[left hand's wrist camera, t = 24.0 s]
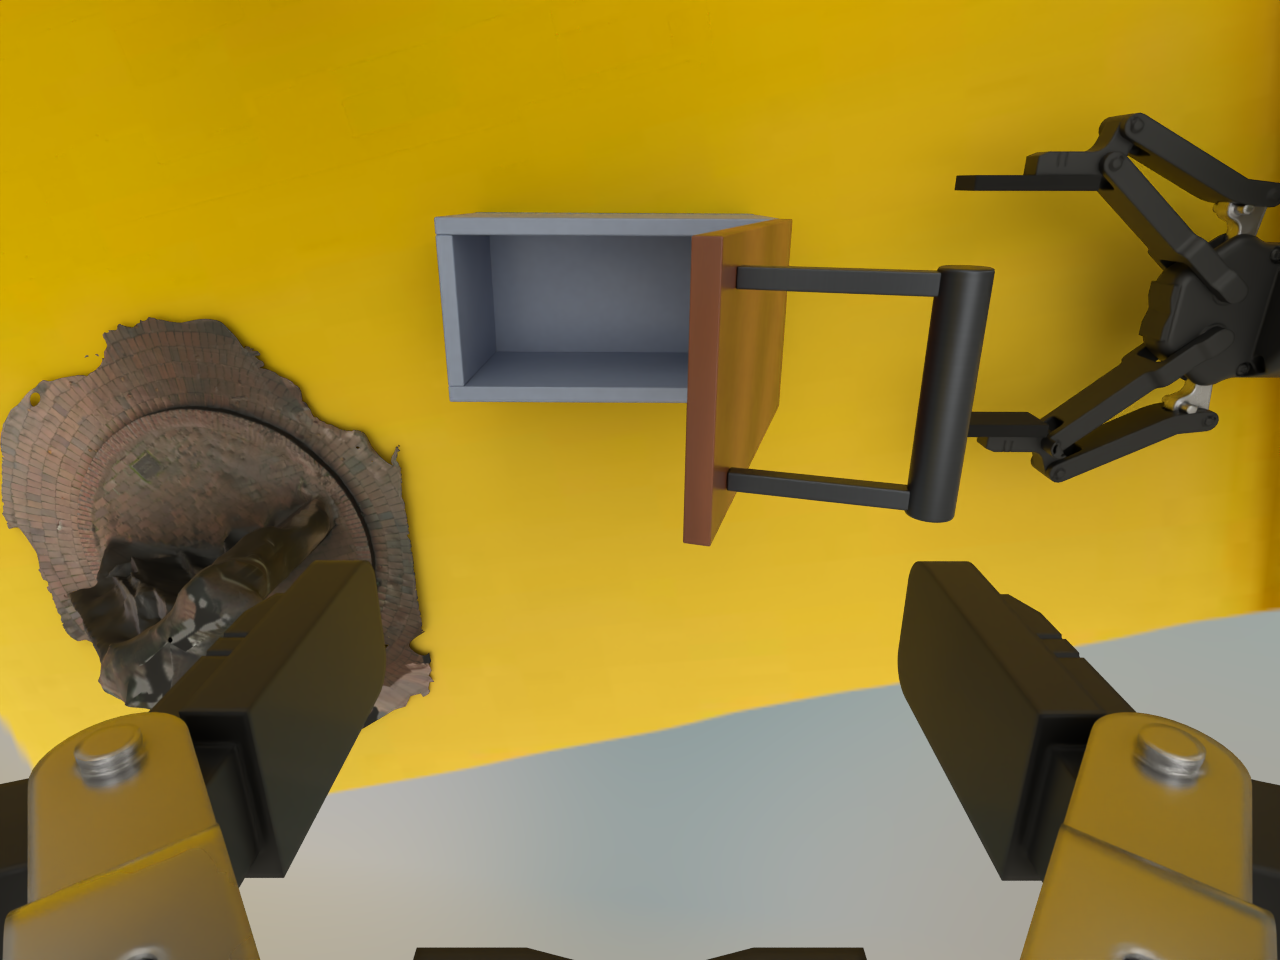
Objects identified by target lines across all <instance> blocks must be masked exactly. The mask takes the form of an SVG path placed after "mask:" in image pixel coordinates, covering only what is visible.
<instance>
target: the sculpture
mask: <svg viewBox="0 0 1280 960" xmlns="http://www.w3.org/2000/svg"><path fill="white" fill-rule="evenodd" d="M117 327H118V328H117V330H109V332H108V333H104V334H103V338H104V339H105V340H106V343H107V348H106V350H105V351H104V357H105V359H104V358H102V359H103V360H102V363H101V365H100V366H99V367H98V368H97V370H95V371H94V372H92V373H90V374H89V375H88V376H84V375H77V376H72V377H65V378H60V379H57V380H54V381H50V382H49V381H45V380H43V381H41V382H40V383H39V384H38V385H37V387H36V388H34V389H32V390H31V391H30V392H28V393H27V394H26V396H25V397H24V398H23V399H22V401H21V402H20V403H19V404H18V405H17V406H16V407H14V408H13V409H12V410H11V411H10V413H9V415H8V417H7V419H6V421H5V423H4V424H3V429H2V432H1V441H0V442H1V448H2V449H1V451H2V455H3V456H4V457H2V458H3V460H2V462H3V464H2V476H3V477H2V482H3V483H2V496H3V497H2V502H4V506H3V510H4V511H3V513H2V514H3V516H4V517H5V519H6V521H7V522H8V523H7V524H8V528H9V529H10V528H14V527H18V528H20V529H21V531H22V532H23V533H24V535H25V536H26V537H27V539H28V540H29V542H30V543H31V545H32V546H33V548H34V549H35V551H36V553H37V555H38V560H39V566H40V569H39V571H40V572H41V575H42V578H43V580H46V581H48V585H49V586H48V587H47V589H48V591H49V592H50V593H52V596H53V600H54V602H55V605H56V608H57V611H58V613H59V614H60V615H61V621H62V623H63V626H64V627H63V628H64V629H65V631H66V632H67V633H68V634H69V635H70V636H71V637H72V638H73V639H75V640H77V641H81V640H88V641H91V642H92V643H93V646H94V648H95V649H96V651H97V654H98V655H99V657H100V662H101V674H100V677H99V680H98V682H99V683H100V684H101V686H102V688H103V690H104V691H105V692H106V693H108V694H111V695H113V696H114V697H116V698H118V699H121V700H122V701H124V702H125V705H126V706H128V707H136V708H147V709H150V710H151V709H152V708H153V707H154V706H155V705H156V704H157V703H158V701H159V700H160V699H161V698H162V697H163V696H164V695H165V694H166V693H167V692H168V691H169V690H170V689H171V688H172V687H173V686H174V685H175V684H176V683H177V682H178V681H179V679H180V678H181V677H182V676H183V675H184V674H185V673H186V672H187V671H188V670H189V669H190V668H191V667H192V666H193V665H194V664H195V663H196V662H197V661H198V660H199V658H200V657H201V656H206V651H207V650H208V649H209V648H210V647H211V646H212V645H213V644H214V643H215V642H216V641H217V640H218V639H219V638H223V637H224V632H225V631H226V630H227V629H228V628H229V627H230V626H231V625H232V624H233V623H234V622H235V621H236V620H237V619H238V618H239V617H240V616H241V614H242V613H243V612H244V611H246V610H248V609H250V608H251V607H253V606H255V605H256V604H258V603H260V602H262V601H263V600H265V599H267V598H269V597H270V596H272V595H274V594H275V593H285V592H286V591H287V590H288V589H289V588H290V586H291V585H292V584H293V583H294V582H295V581H296V580H297V579H298V578H299V576H300V575H301V574H302V573H303V572H304V571H305V570H306V569H307V568H308V566H309V565H310V564H311V563H312V562H314V561H316V560H367V561H369V562H370V563H371V565H372V567H373V569H374V573H375V577H376V584H377V591H378V599H379V606H380V613H381V620H382V627H383V634H384V642H385V644H387V645H388V646H387V647H386V648H385V649H386V671H385V678H384V683H383V687H382V690H381V692H380V695H379V697H378V699H377V701H376V703H375V704H374V706H373V708H372V710H371V712H370V714H369V716H368V718H367V720H366V722H365V724H364V725H363V727H362V729H363V728H364V727H366V726H368V725H370V724H371V723H373V722H375V721H376V720H378V719H380V718H381V717H383V716H385V715H386V714H388V713H389V712H391V711H393V710H395V709H398V708H401V707H405V706H406V704H407V702H408V700H409V698H410V696H412V695H416V694H420V693H421V694H422V696H423V697H424V696H426V695H427V694H429V692H430V690H429V689H428V687H429V682H434V681H433V680H432V679H431V677H430V676H429V674H430V672H431V668H430V666H429V663H430V662H431V659H430V655H429V653H428V654H427V655H419V654H417V653H415V652H414V651H413V650H412V649H411V648H410V647H409V644H410V642H411V641H412V640H413V639H414V638H416V637H417V636H418V635H420V634H422V633H423V632H425V631H423V630H422V629H421V626H422V622H421V617H420V615H421V614H420V611H419V604H418V601H417V599H418V597H417V590H415V589H416V587H415V586H416V582H415V573H414V572H413V571H414V569H413V567H414V566H413V556H412V552H411V544H410V539H409V538H408V537H407V535H408V534H409V531H408V527H409V526H408V523H407V517H406V513H405V510H404V509H405V503H404V501H403V499H402V497H401V495H402V493H401V491H402V489H401V483H402V481H401V480H402V478H401V473H400V471H401V468H400V466H399V463H398V462H397V461H396V458H397V452H398V451H400V450H399V449H398V447H396V450H395V452H394V454H393V456H392V459H391V463H392V464H393V465H390V464H389V463H387V462H386V461H385V460H383V459H382V458H381V457H380V456H379V455H378V454H377V452H376V451H375V450H374V449H373V448H372V446H371V444H370V442H369V440H368V438H367V437H366V435H365V434H364V433H363V432H362V433H361V431H356V430H353V431H345V430H340V429H338V428H337V427H334V426H333V425H330V424H326V423H325V422H323V421H320V420H319V419H318V418H317V417H313V415H312V413H311V410H310V409H309V408H308V406H307V404H306V403H305V402H303V401H302V396H301V391H300V390H299V389H300V388H298V386H296V385H294V384H293V382H291V381H290V380H288V379H286V378H283V377H281V376H278V375H277V374H276V373H275V372H272V371H270V370H267V369H262V368H260V367H262V366H264V363H263V362H262V361H260V360H259V359H257V358H256V357H255V356H257V355H260V353H259V352H258V351H252V349H250V347H246V346H245V348H243V347H242V345H241V344H240V342H239V341H238V339H237V338H236V337H235V336H234V334H233V333H232V332H231V331H230V330H229V329H228V328H227V327H226V326H225V325H224V324H223V323H221V322H219V321H217V320H211V319H199V320H193V321H188V322H183V323H175V322H169V321H164V320H157V319H155V318H150V317H149V318H148V319H147V320H146V321H141V320H140V323H138V324H136V326H134V327H133V328H131V327H126V326H123V325H121V324H119V325H118V326H117ZM95 355H97V356H99V355H98V354H95ZM85 357H88V355H86V356H85ZM34 392H37V393H39V394H40V398H41V399H40V402H39V404H38V405H37V406H35V407H33V406H31V404H30V396H31V394H32V393H34ZM356 446H358V447H360V448H359V449H357V448H356ZM398 446H399V445H398ZM371 461H373V462H371ZM76 590H77V591H76ZM73 591H74V592H73ZM422 631H423V632H422Z"/></svg>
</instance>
